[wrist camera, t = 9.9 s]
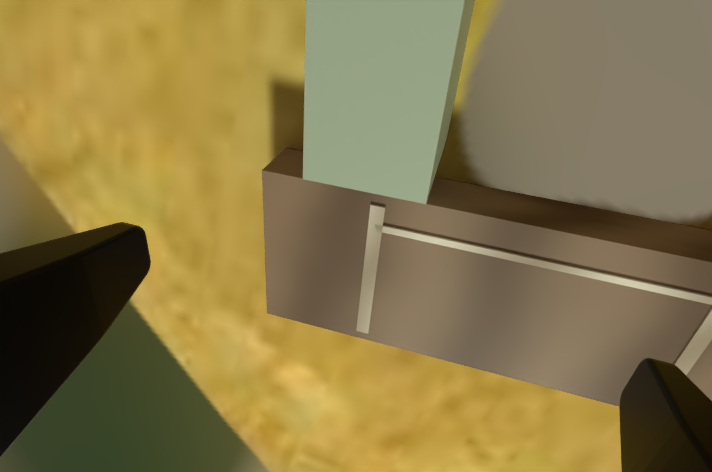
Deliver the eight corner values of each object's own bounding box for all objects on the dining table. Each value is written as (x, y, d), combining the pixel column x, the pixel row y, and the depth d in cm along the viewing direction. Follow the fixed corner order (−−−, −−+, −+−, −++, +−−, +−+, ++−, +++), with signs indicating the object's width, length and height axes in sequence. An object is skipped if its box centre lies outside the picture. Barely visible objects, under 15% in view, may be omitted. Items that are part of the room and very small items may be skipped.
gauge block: (503, -146, 14) (500, -191, 9) (446, 143, 19) (424, 212, 14) (375, -154, 15) (309, -200, 10) (353, 126, 20) (302, 187, 15)
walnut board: (840, 255, 17) (886, 299, 15) (727, 393, 22) (750, 442, 20) (285, 148, 21) (260, 171, 19) (286, 283, 26) (266, 314, 24)
